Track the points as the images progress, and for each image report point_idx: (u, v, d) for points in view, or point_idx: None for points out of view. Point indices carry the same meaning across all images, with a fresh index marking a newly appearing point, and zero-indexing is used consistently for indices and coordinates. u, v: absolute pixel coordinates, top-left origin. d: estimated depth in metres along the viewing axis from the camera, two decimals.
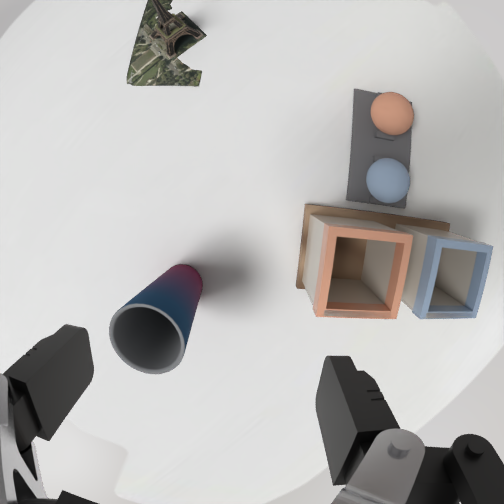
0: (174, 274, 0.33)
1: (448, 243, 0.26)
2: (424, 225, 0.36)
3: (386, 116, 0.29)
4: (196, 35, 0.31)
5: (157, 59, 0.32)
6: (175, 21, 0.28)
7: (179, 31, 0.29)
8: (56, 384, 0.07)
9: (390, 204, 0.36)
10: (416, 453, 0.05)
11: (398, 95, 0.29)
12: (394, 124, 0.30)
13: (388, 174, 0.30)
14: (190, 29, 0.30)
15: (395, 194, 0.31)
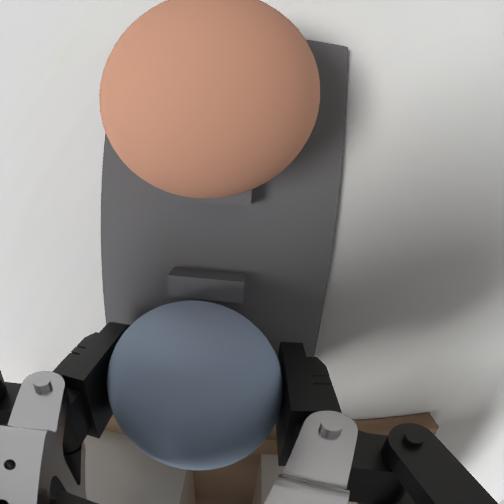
0: None
1: None
2: None
3: (114, 119, 0.05)
4: None
5: None
6: None
7: None
8: None
9: None
10: (347, 436, 0.05)
11: None
12: (159, 156, 0.05)
13: (136, 419, 0.06)
14: None
15: (186, 469, 0.07)
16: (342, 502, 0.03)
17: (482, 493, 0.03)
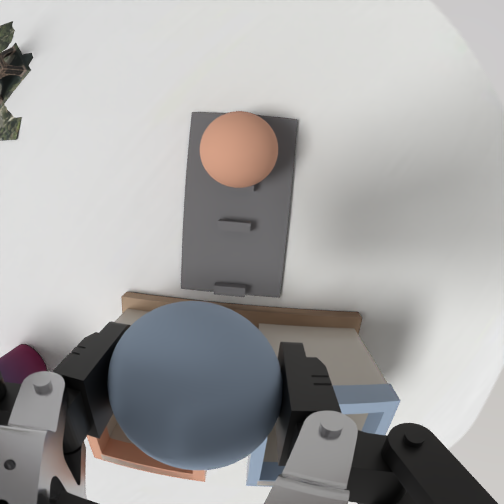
0: (1, 363, 0.22)
1: None
2: (312, 323, 0.25)
3: (211, 161, 0.19)
4: (18, 73, 0.20)
5: None
6: None
7: None
8: None
9: (252, 292, 0.25)
10: (347, 436, 0.05)
11: (239, 117, 0.18)
12: (226, 173, 0.19)
13: (136, 419, 0.06)
14: (9, 68, 0.19)
15: None
16: (342, 502, 0.03)
17: (482, 493, 0.03)
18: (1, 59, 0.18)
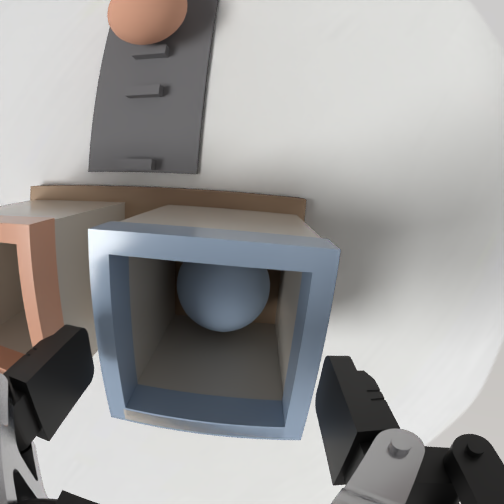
0: None
1: (129, 242, 0.10)
2: (236, 204, 0.19)
3: (112, 12, 0.13)
4: None
5: None
6: None
7: None
8: (56, 384, 0.07)
9: (163, 169, 0.20)
10: (416, 453, 0.05)
11: None
12: (124, 19, 0.13)
13: (198, 289, 0.15)
14: None
15: (218, 325, 0.16)
16: None
17: None
18: None
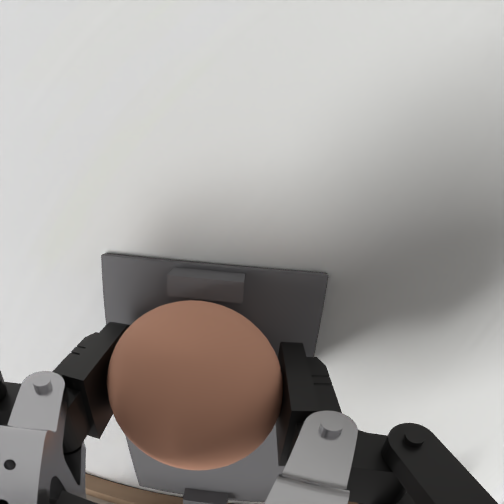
0: None
1: None
2: None
3: (132, 442, 0.07)
4: None
5: None
6: None
7: None
8: None
9: (238, 499, 0.14)
10: (347, 436, 0.05)
11: (180, 367, 0.06)
12: None
13: None
14: None
15: None
16: (342, 502, 0.03)
17: (482, 493, 0.03)
18: None
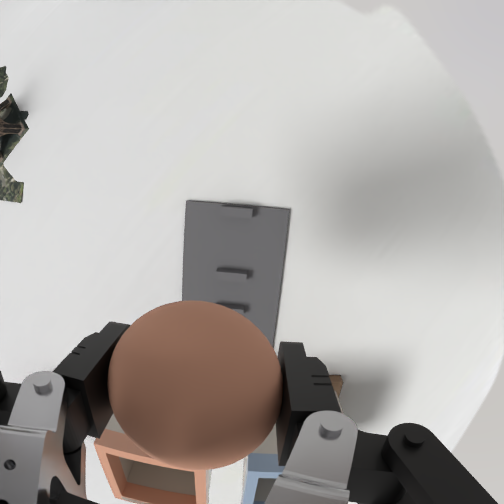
0: None
1: (270, 474, 0.17)
2: None
3: None
4: (16, 131, 0.22)
5: None
6: None
7: None
8: None
9: None
10: (347, 436, 0.05)
11: (181, 368, 0.07)
12: None
13: None
14: (6, 127, 0.21)
15: None
16: (342, 502, 0.03)
17: (482, 493, 0.03)
18: None
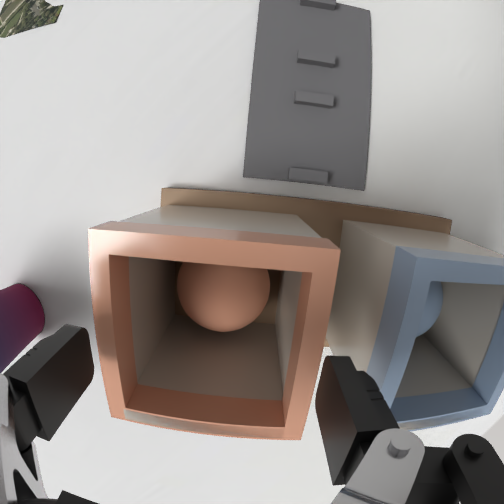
0: None
1: (449, 269, 0.10)
2: (402, 223, 0.19)
3: (190, 312, 0.16)
4: None
5: (24, 3, 0.16)
6: None
7: None
8: (56, 384, 0.07)
9: (333, 183, 0.20)
10: (416, 453, 0.05)
11: None
12: (208, 326, 0.16)
13: None
14: None
15: None
16: None
17: None
18: None
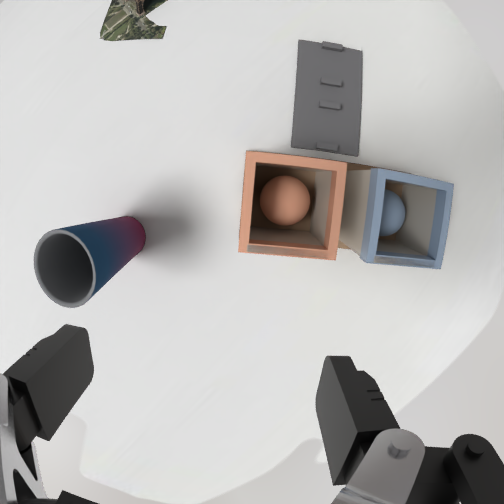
0: (111, 219, 0.32)
1: (393, 174, 0.24)
2: None
3: (270, 210, 0.31)
4: None
5: (128, 17, 0.30)
6: None
7: None
8: (56, 384, 0.07)
9: (340, 151, 0.34)
10: (416, 453, 0.05)
11: (288, 182, 0.30)
12: (279, 218, 0.31)
13: (382, 209, 0.30)
14: None
15: (388, 229, 0.31)
16: None
17: None
18: None
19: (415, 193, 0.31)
